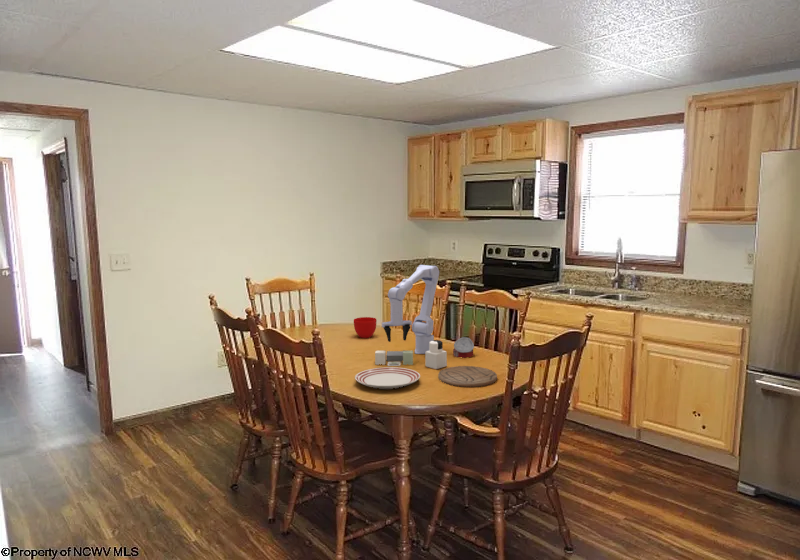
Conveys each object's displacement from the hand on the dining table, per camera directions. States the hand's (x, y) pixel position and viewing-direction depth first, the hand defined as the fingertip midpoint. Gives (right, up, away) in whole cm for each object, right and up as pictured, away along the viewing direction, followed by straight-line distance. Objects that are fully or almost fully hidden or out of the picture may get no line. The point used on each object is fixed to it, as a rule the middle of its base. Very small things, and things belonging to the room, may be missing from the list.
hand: (396, 340), depth 264 cm
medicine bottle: (+18, -11, -9) cm, 23 cm away
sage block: (+5, -10, -4) cm, 12 cm away
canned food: (+33, -9, +9) cm, 35 cm away
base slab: (-1, -10, +4) cm, 10 cm away
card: (-1, -10, -5) cm, 12 cm away
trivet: (+30, -14, -27) cm, 43 cm away
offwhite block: (-8, -10, -3) cm, 13 cm away
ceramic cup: (-18, -3, +51) cm, 55 cm away
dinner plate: (-4, -14, -31) cm, 35 cm away
